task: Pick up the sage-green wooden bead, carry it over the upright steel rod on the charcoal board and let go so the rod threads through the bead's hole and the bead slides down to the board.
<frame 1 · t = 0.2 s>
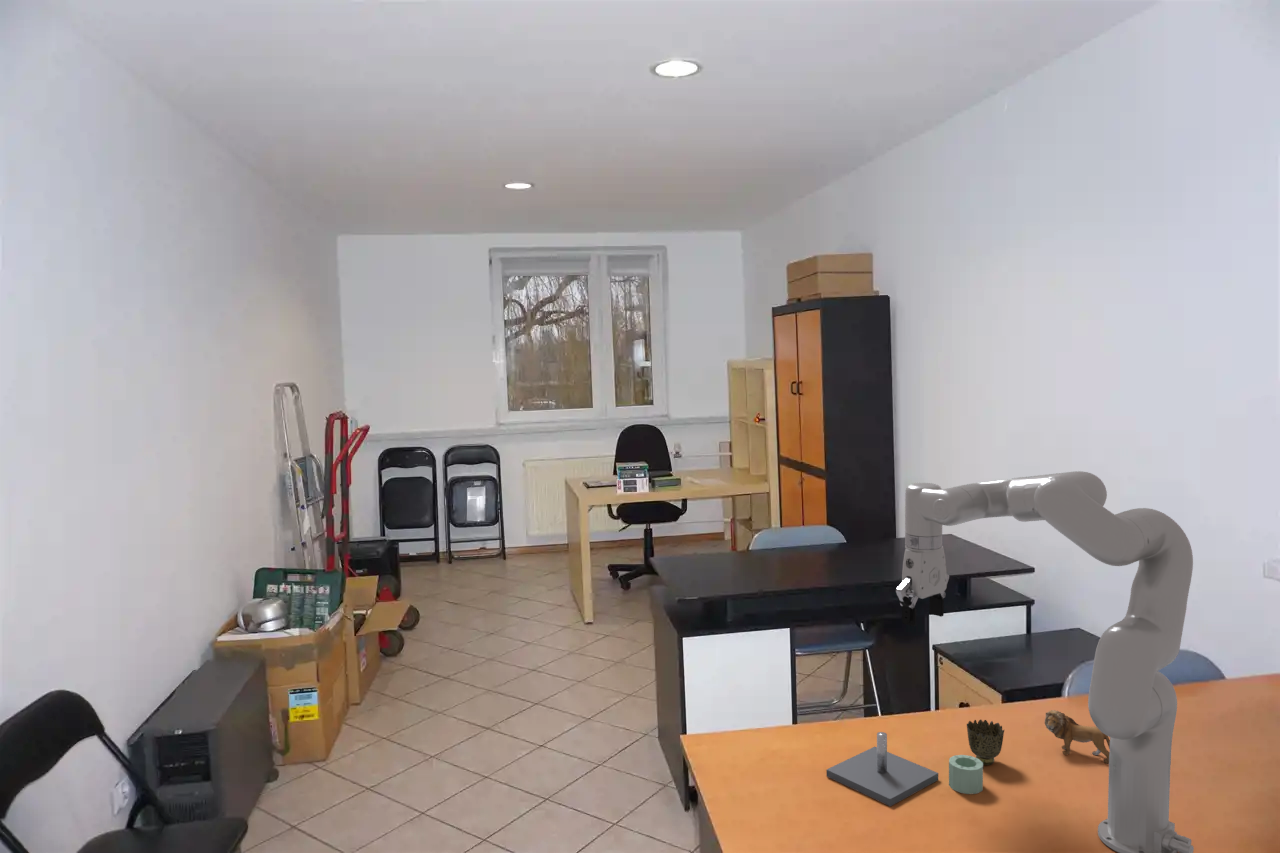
hand: (922, 619, 193), 30 cm above the table, tool pointing down, fingers open, 9 cm apart
board: (882, 778, 187), on the table
rod: (881, 752, 186), on the board, point 6 cm above the table
cup: (985, 763, 192), on the table
bead: (965, 785, 182), on the table
lion figurine: (1078, 755, 194), on the table
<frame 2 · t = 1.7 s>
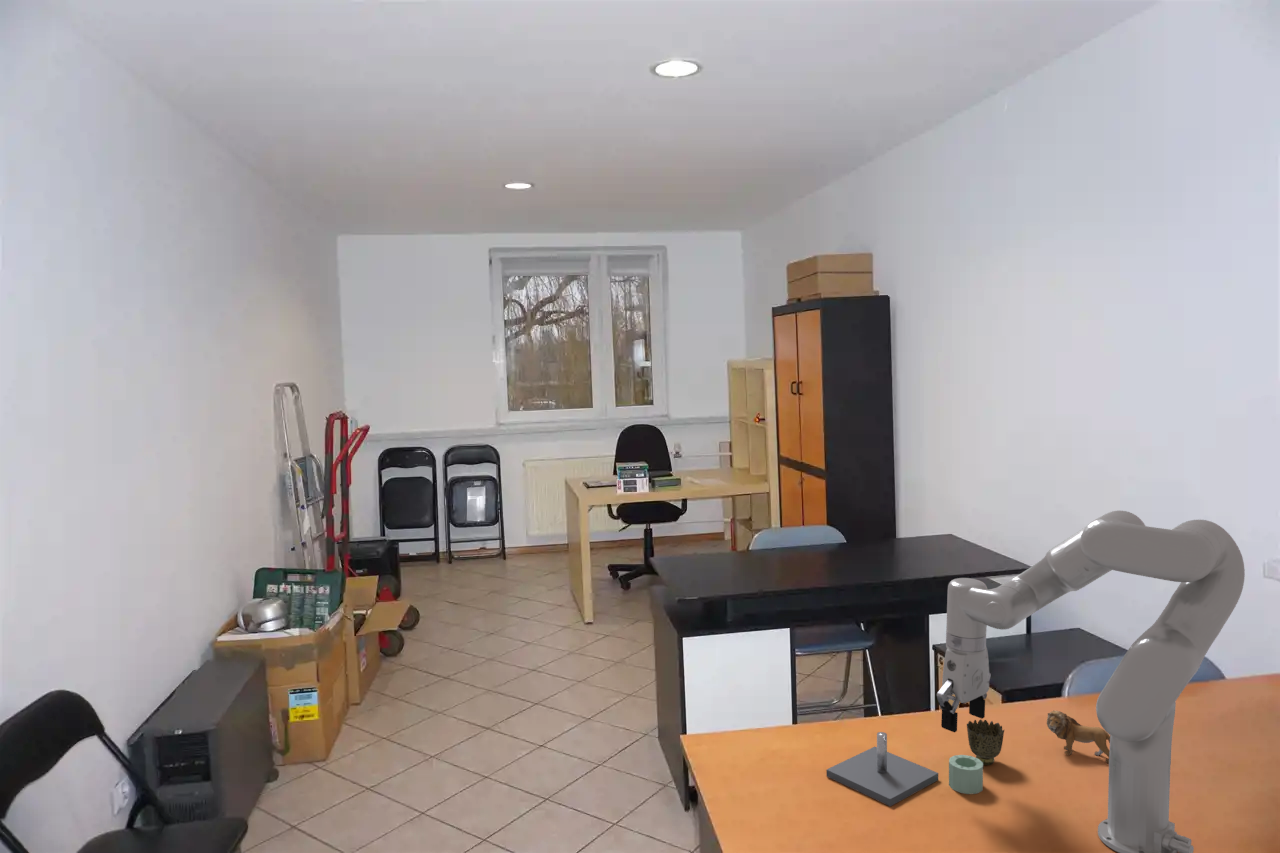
hand: (963, 722, 182), 13 cm above the table, tool pointing down, fingers open, 9 cm apart
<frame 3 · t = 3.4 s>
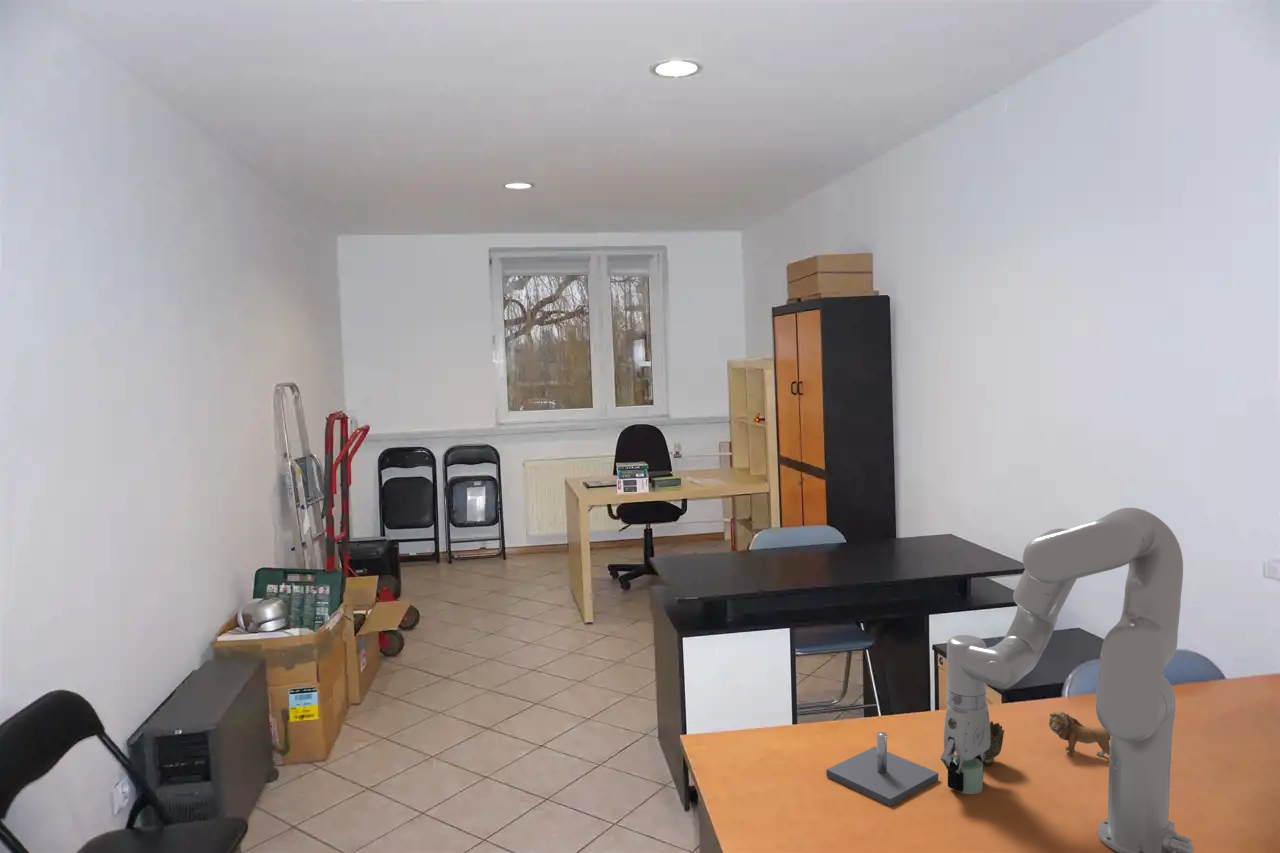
hand: (965, 782, 182), 1 cm above the table, tool pointing down, fingers closed on bead, 6 cm apart
bead: (965, 785, 182), on the table, touching gripper
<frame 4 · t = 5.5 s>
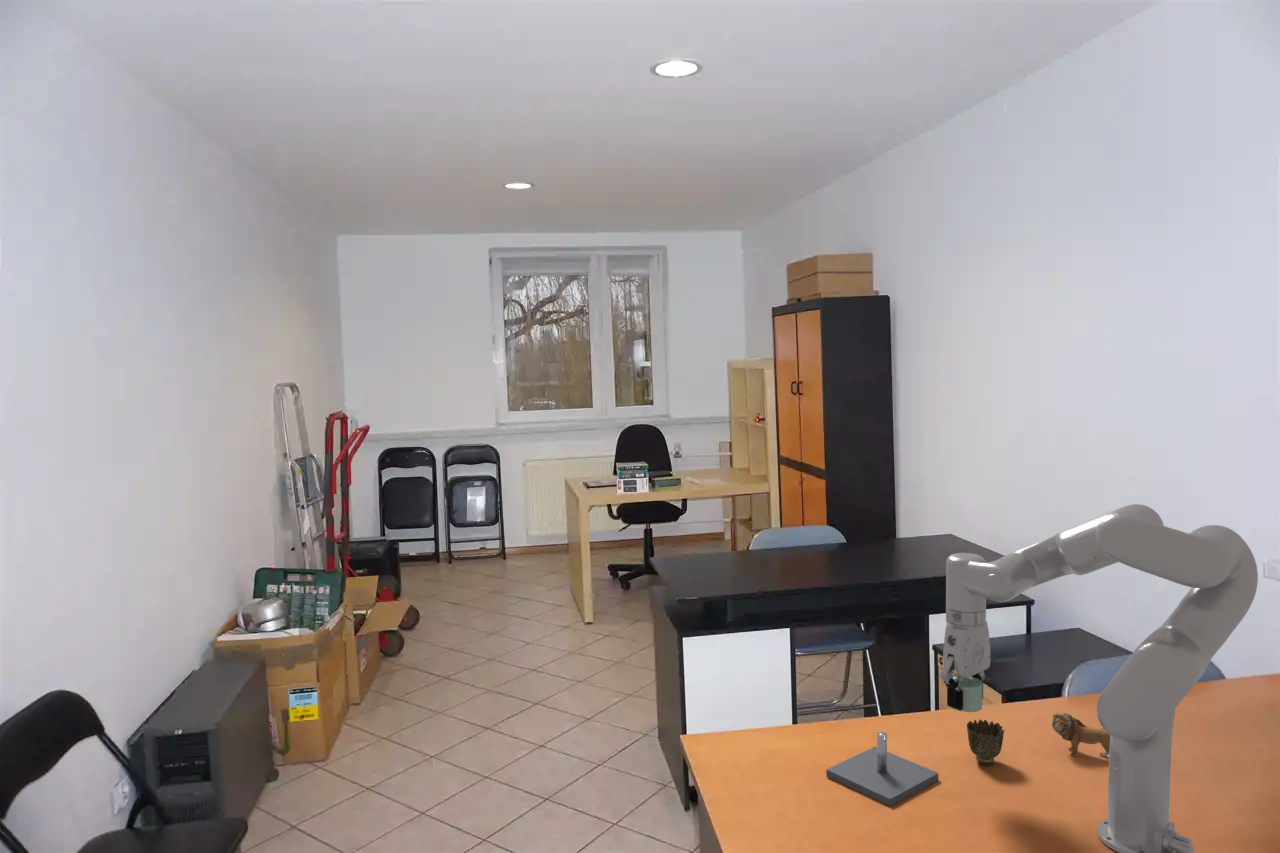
hand: (965, 702, 181), 18 cm above the table, tool pointing down, fingers closed on bead, 6 cm apart
bead: (965, 705, 181), point 17 cm above the table, touching gripper
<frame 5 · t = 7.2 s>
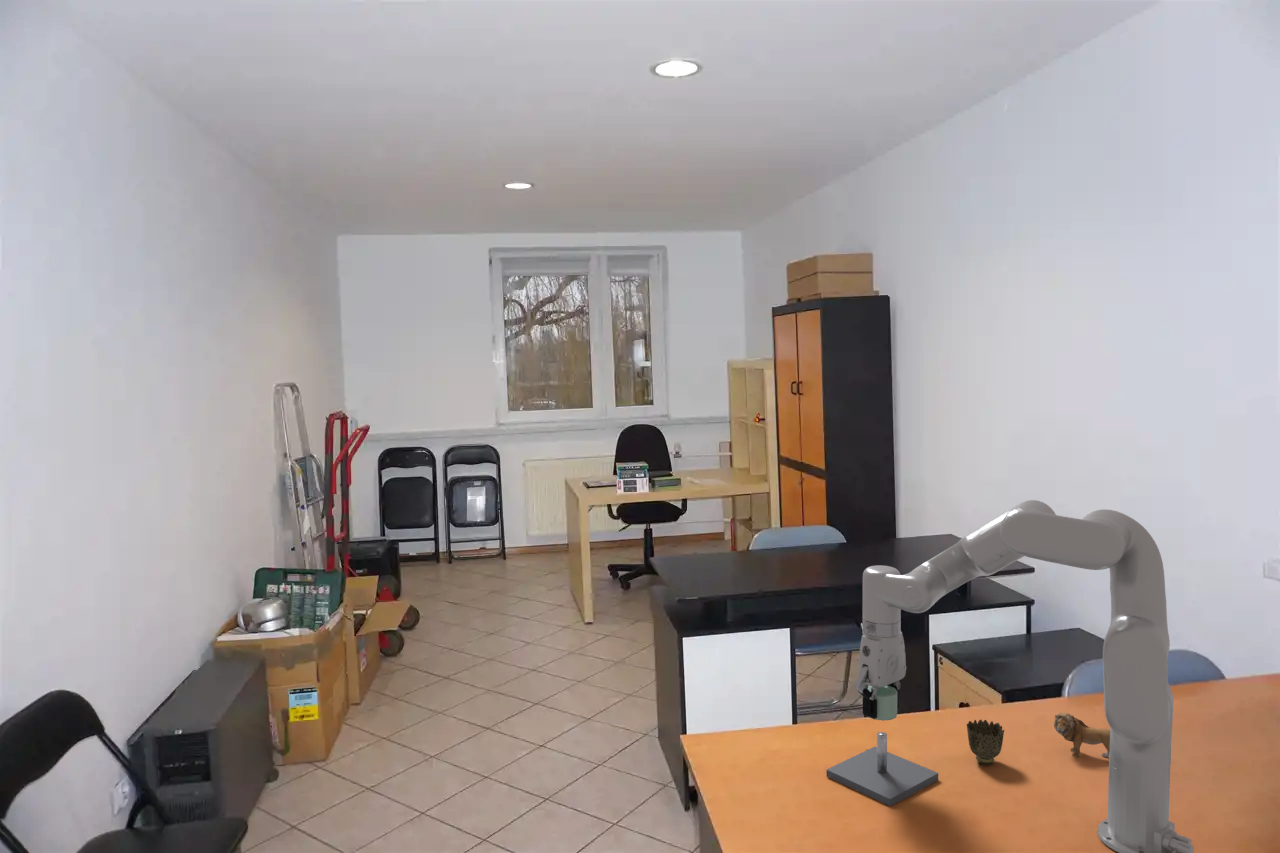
hand: (880, 710, 185), 14 cm above the table, tool pointing down, fingers closed on bead, 6 cm apart
bead: (880, 713, 185), point 14 cm above the table, touching gripper
when the fingers open (12 cm above the table, at t = 8.1 s): bead drops 9 cm, resting on board.
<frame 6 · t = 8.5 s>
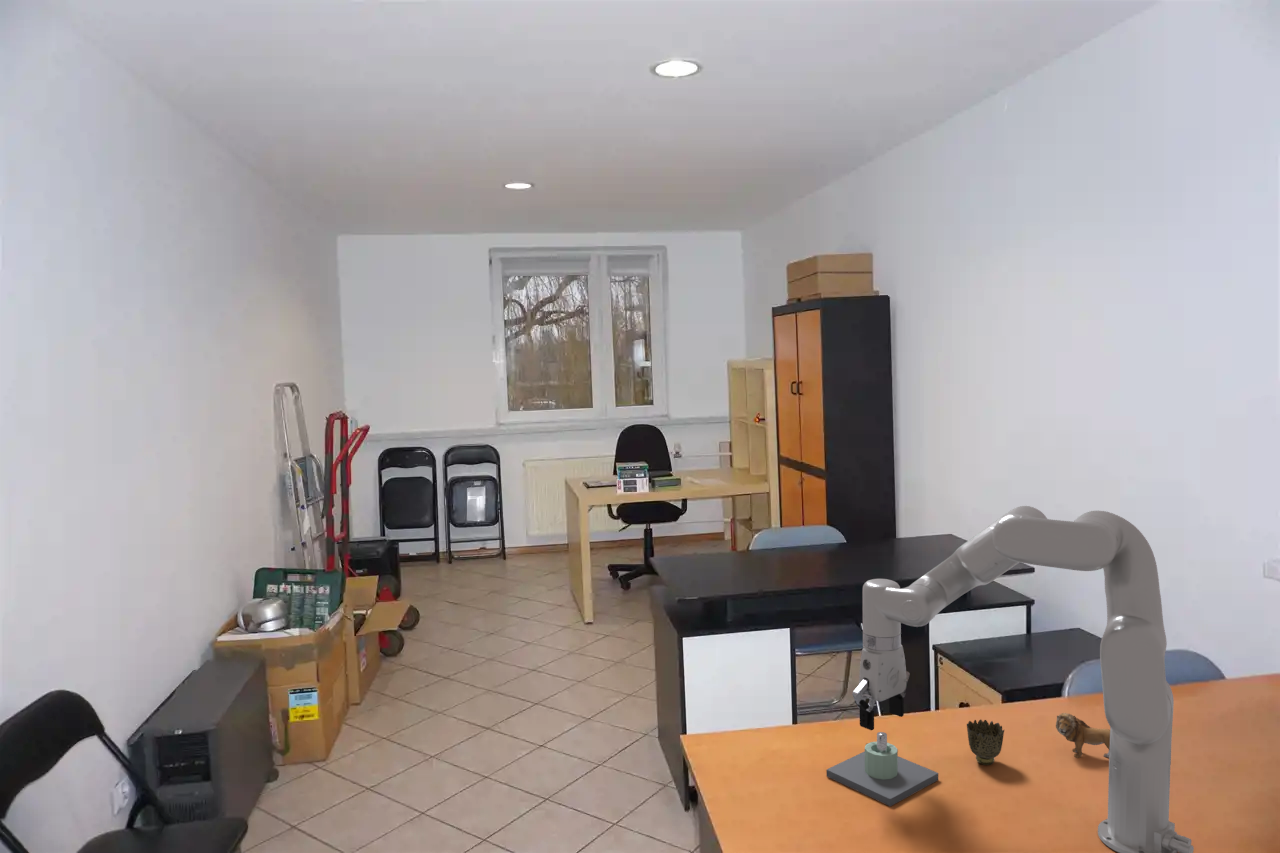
hand: (881, 721, 185), 12 cm above the table, tool pointing down, fingers open, 9 cm apart
bead: (881, 771, 186), point 1 cm above the table, touching board
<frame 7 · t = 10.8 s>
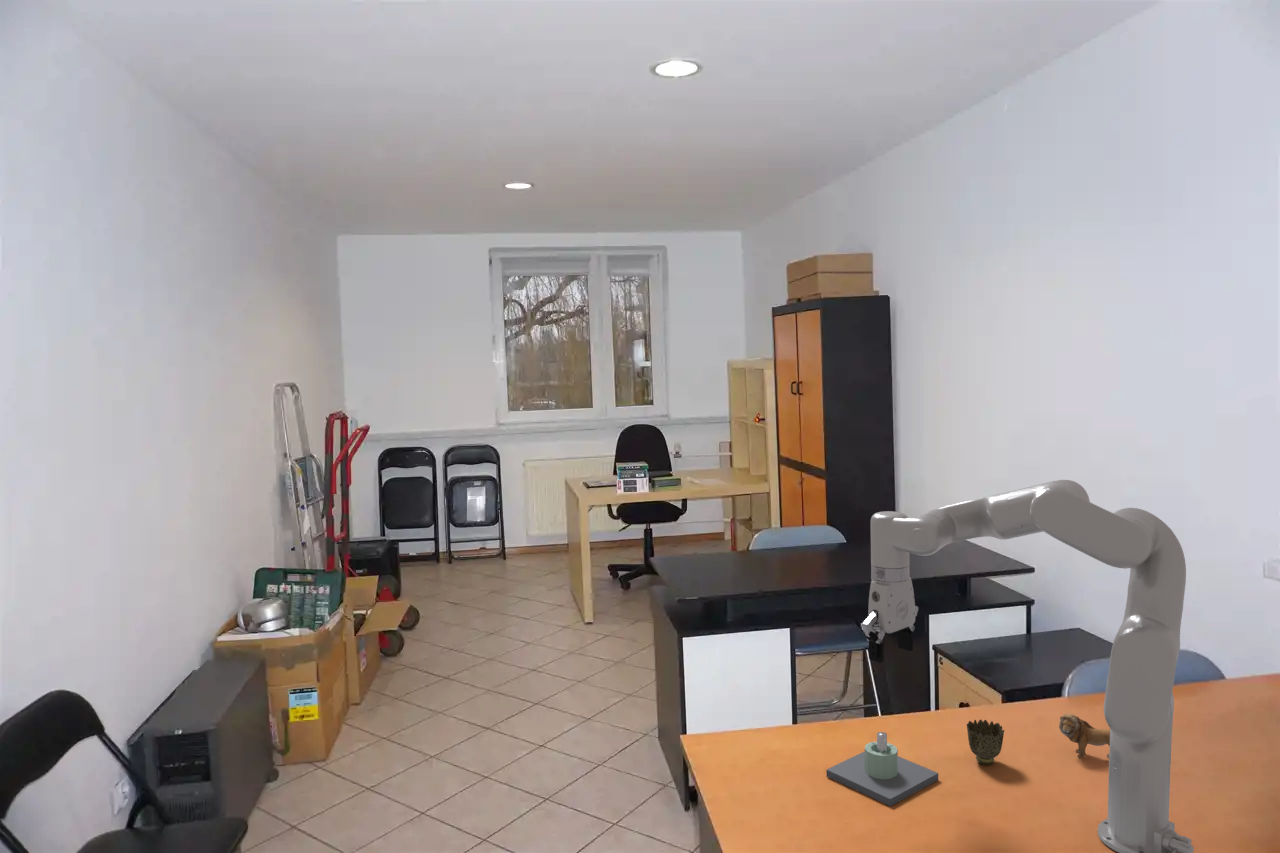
hand: (891, 654, 184), 26 cm above the table, tool pointing down, fingers open, 9 cm apart
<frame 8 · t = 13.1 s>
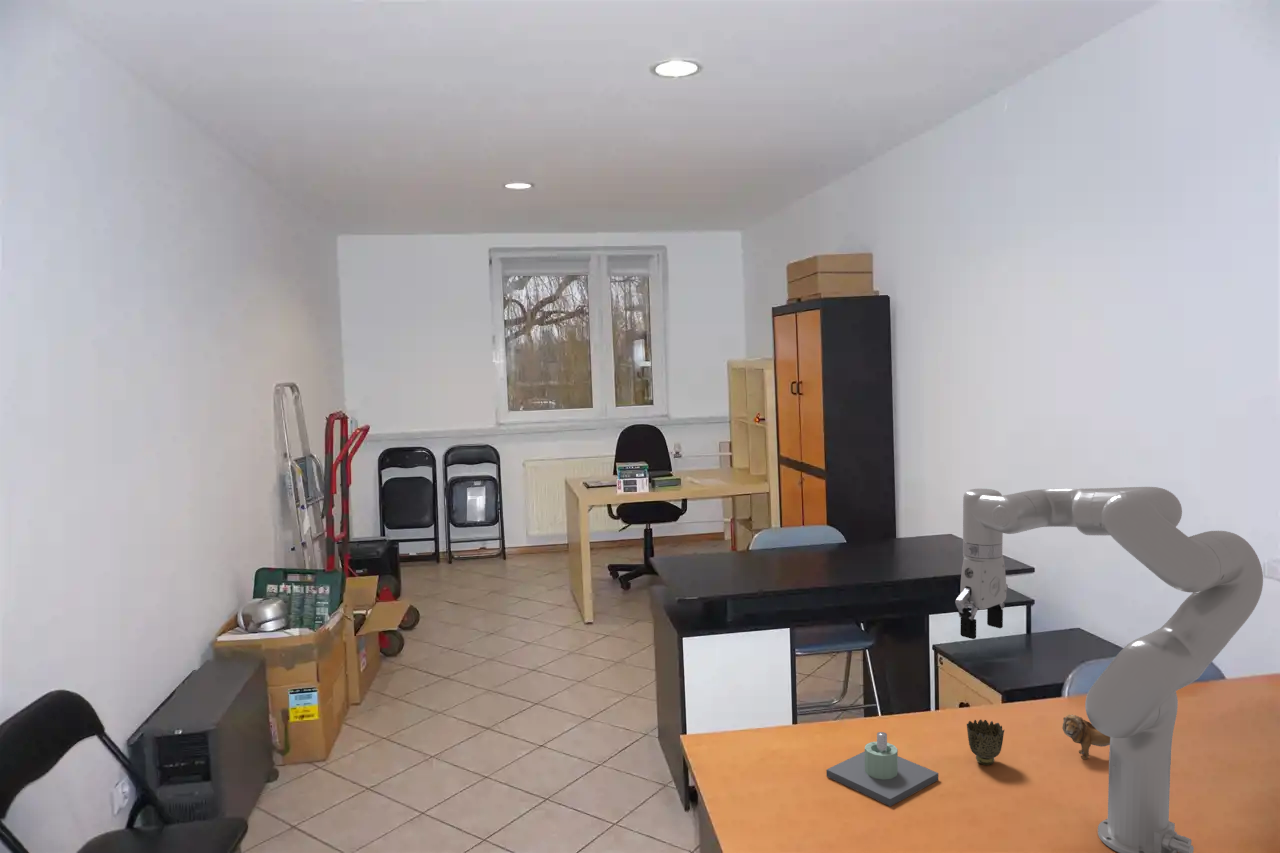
hand: (981, 631, 184), 30 cm above the table, tool pointing down, fingers open, 9 cm apart
at the end: bead 0.3 cm off-centre on the board, point 1.5 cm above the board's base; the gripper is holding nothing; bead tilted 0° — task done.
